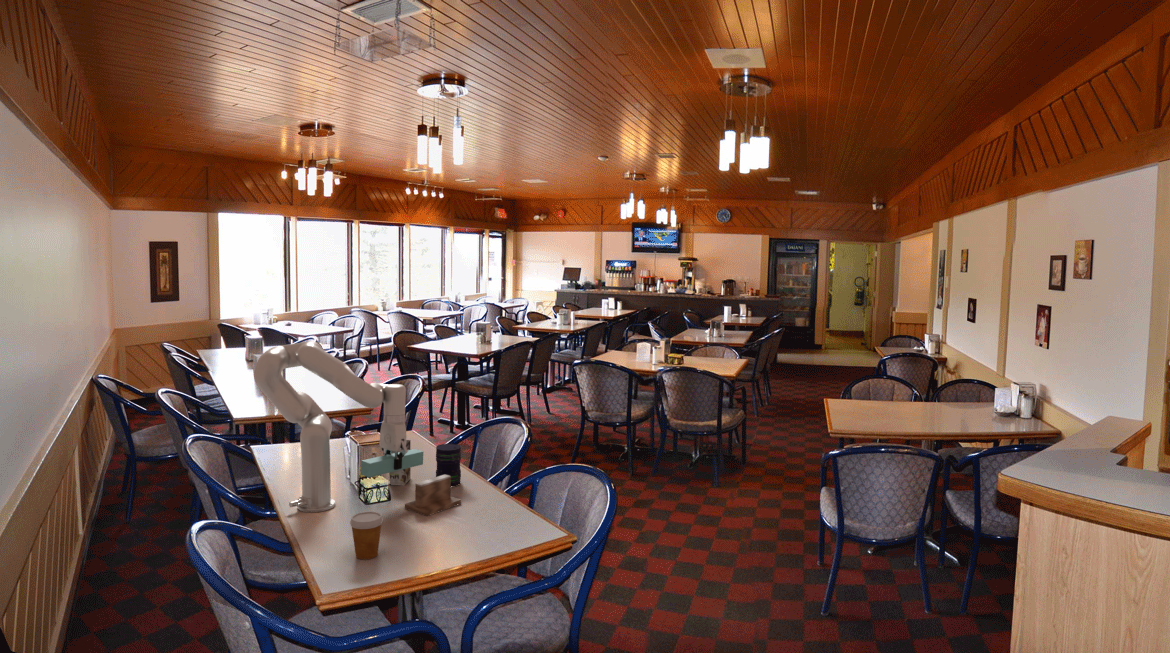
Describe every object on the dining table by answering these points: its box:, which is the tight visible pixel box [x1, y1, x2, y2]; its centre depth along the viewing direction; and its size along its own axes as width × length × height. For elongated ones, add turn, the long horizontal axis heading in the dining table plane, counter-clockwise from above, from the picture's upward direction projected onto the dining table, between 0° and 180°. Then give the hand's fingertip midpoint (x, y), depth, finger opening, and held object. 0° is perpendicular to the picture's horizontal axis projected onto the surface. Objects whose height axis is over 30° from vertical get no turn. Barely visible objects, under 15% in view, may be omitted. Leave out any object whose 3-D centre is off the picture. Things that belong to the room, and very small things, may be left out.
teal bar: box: [360, 448, 424, 478], centre depth 256 cm, size 24×5×5 cm, turn 144°
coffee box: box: [388, 439, 412, 486], centre depth 279 cm, size 9×6×16 cm
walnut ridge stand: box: [404, 474, 462, 517], centre depth 253 cm, size 16×12×10 cm
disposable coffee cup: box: [349, 511, 384, 561], centre depth 210 cm, size 10×10×12 cm
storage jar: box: [435, 443, 462, 487], centre depth 279 cm, size 10×10×15 cm
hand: (392, 466), depth 256 cm, fingers closed on teal bar, 5 cm apart
